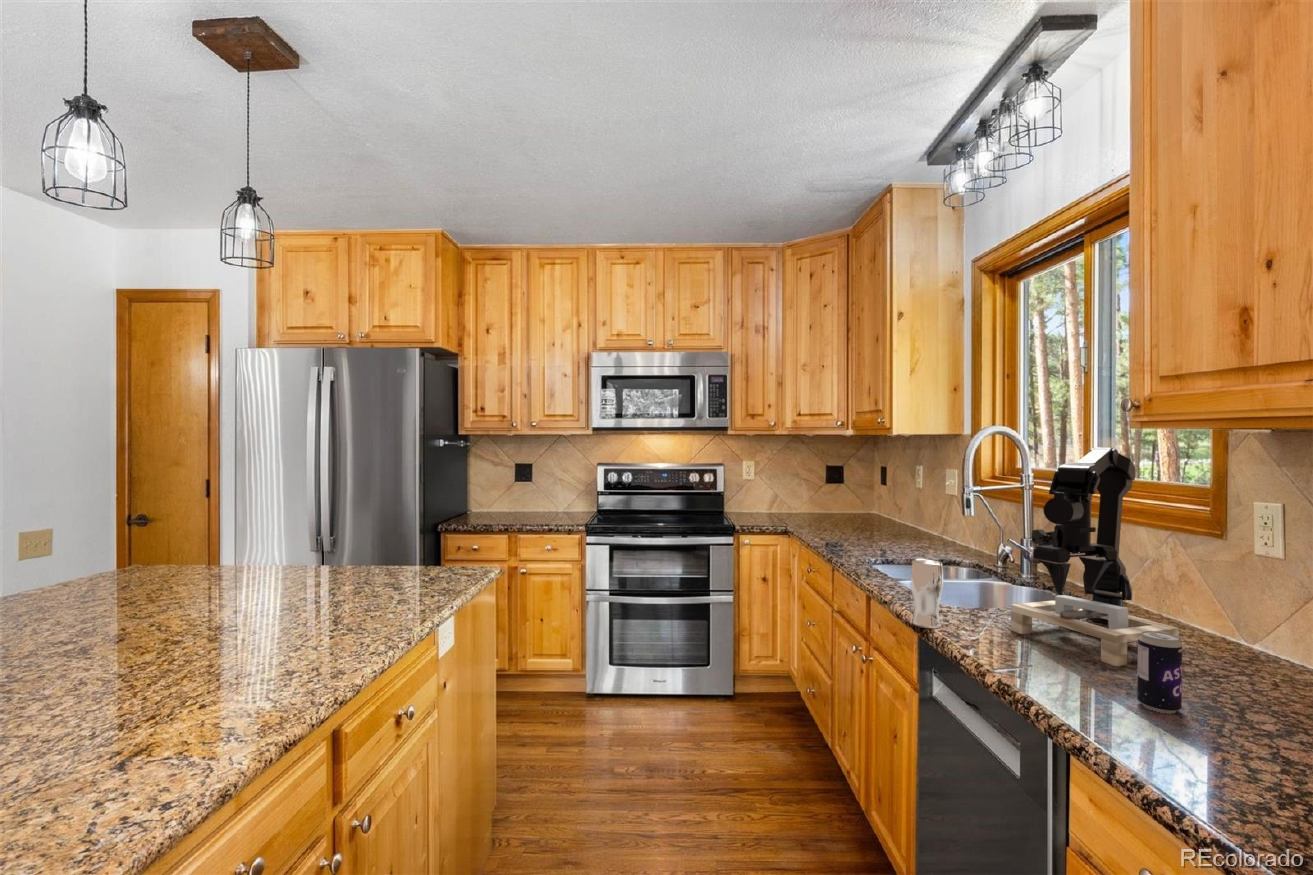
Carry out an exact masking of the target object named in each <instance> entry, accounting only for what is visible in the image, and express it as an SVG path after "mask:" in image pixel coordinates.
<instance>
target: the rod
mask: <svg viewBox="0 0 1313 875" xmlns="http://www.w3.org/2000/svg"><path fill="white" fill-rule="evenodd" d="M1105 616H1108V614H1105V613H1100V612H1096V611H1091V610H1087V609H1078V610H1068V611H1062V612H1061V613H1060V617H1062V618H1066V619H1076V620H1077V619H1080V620H1085V619H1087V618H1095V617H1105Z"/></svg>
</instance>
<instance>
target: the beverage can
mask: <svg viewBox="0 0 1313 875" xmlns="http://www.w3.org/2000/svg"><path fill="white" fill-rule="evenodd" d="M1136 688H1137V692H1136V695H1137V696H1136V699H1137V700H1138V701H1139V703H1140V704H1142V706H1143V707H1144V708H1145V709H1148V710H1149V711H1152V710H1153V712H1155V711H1156V713H1159V712H1160V713H1159V714H1165V713H1166V714H1167V715H1171V714H1172V713H1173V714H1175V713H1176V712H1177V711H1180V710H1181V709H1182V705H1183V704H1182V701H1183V700H1182V695H1183V694H1182V693H1183V692H1182V691H1183V646H1182V644H1181V642H1180V638H1178V637H1177V636H1174V635H1171V634H1167V633H1163V632H1156V631H1142V632H1141V636H1140V637H1139V639H1138V641H1137V687H1136Z"/></svg>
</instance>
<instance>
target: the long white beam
mask: <svg viewBox="0 0 1313 875" xmlns="http://www.w3.org/2000/svg"><path fill="white" fill-rule="evenodd" d="M1054 600H1055V611H1054V613H1055V614H1059V615H1060V613H1061V612H1062V611H1068V610H1073V607H1078V608H1082V609H1087V610H1091V611H1096V612H1100V613H1105V614H1108V624H1107V626H1108V629H1111V630H1115V629H1123V628H1129V626H1128V615H1129V608H1128V607H1126V606H1123V607H1121V606H1116V605H1111V604H1106V603H1101V602H1096V601H1092V600H1090V599H1085V598H1081V597H1075V596H1070V595H1065V594H1061V595H1055V596H1054Z"/></svg>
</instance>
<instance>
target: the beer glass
mask: <svg viewBox="0 0 1313 875" xmlns="http://www.w3.org/2000/svg"><path fill="white" fill-rule="evenodd" d="M911 563H912V564H911V576H910V578H911V579H910V580H911V593H912V598H913V604H914V613H913V618H912V624H913V625H914V626H915V627H918V628H924V629H940V628H941V620H940V613H939V612H940V604H941V599H942V594H943V588H944V569H943V562H942V561H939V560H937V559H936V560H935V559H929V558H928V559H927V558H916V559H912V562H911Z"/></svg>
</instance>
